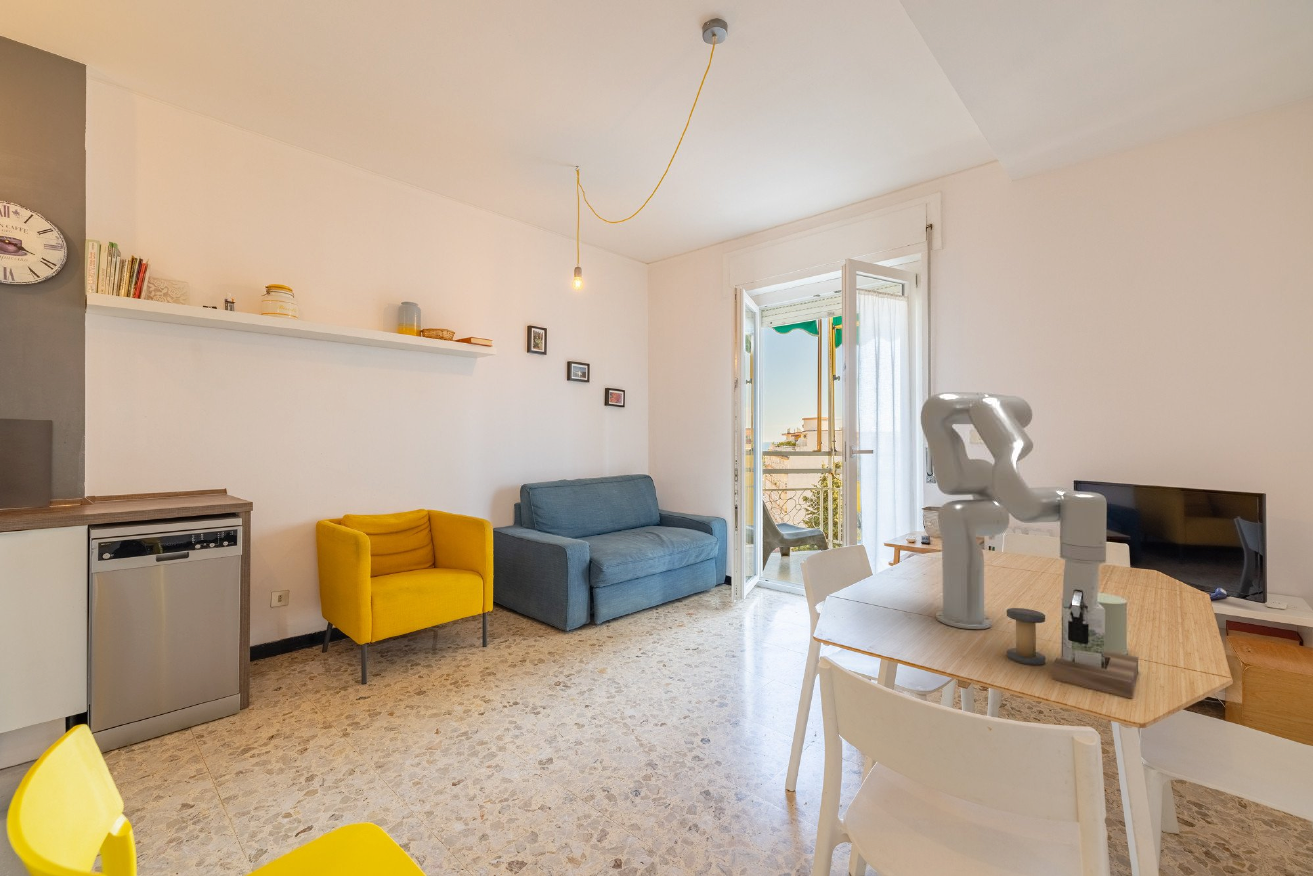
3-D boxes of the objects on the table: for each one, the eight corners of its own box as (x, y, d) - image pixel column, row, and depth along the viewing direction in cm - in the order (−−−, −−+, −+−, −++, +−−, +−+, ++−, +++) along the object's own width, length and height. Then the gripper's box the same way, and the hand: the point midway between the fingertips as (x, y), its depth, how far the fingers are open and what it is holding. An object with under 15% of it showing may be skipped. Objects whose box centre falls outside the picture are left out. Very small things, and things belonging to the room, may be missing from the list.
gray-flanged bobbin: (1010, 650, 125) (1010, 605, 125) (1048, 658, 121) (1048, 612, 120) (1003, 659, 120) (1003, 613, 120) (1042, 668, 115) (1041, 620, 115)
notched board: (1066, 655, 122) (1066, 642, 122) (1138, 671, 114) (1138, 657, 114) (1052, 679, 111) (1052, 664, 111) (1131, 698, 102) (1131, 682, 102)
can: (1066, 640, 131) (1066, 589, 131) (1106, 640, 131) (1106, 589, 131) (1095, 655, 122) (1095, 601, 122) (1139, 655, 122) (1138, 601, 122)
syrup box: (1093, 668, 115) (1093, 598, 115) (1105, 680, 110) (1105, 607, 110) (1061, 664, 117) (1060, 596, 117) (1071, 676, 112) (1070, 604, 112)
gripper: (1067, 543, 122) (1066, 620, 123) (1052, 556, 110) (1051, 642, 110) (1110, 548, 117) (1110, 629, 117) (1100, 563, 105) (1099, 653, 105)
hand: (1081, 635), depth 114 cm, fingers open, 9 cm apart
